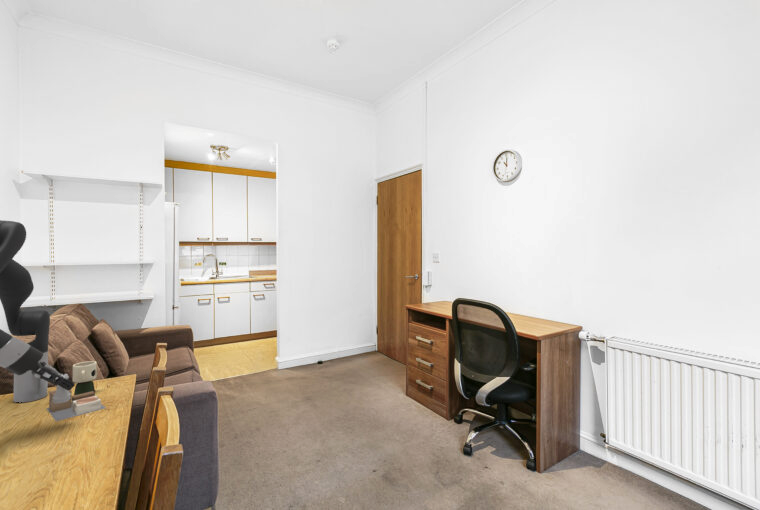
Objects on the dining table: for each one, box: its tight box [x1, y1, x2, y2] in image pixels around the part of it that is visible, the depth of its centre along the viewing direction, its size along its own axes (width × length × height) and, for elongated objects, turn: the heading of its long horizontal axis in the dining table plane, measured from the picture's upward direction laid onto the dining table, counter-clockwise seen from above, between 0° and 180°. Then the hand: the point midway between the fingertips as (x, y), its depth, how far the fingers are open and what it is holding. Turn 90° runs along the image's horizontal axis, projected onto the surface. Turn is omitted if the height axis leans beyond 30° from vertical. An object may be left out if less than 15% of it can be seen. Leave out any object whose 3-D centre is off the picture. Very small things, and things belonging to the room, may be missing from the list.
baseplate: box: [46, 401, 107, 422], centre depth 122 cm, size 16×13×1 cm
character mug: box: [72, 360, 98, 396], centre depth 135 cm, size 11×7×13 cm, turn 34°
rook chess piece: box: [52, 373, 72, 403], centre depth 109 cm, size 4×4×8 cm
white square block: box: [72, 395, 102, 416], centre depth 121 cm, size 6×6×3 cm
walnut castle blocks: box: [48, 389, 96, 412], centre depth 125 cm, size 5×12×6 cm, turn 141°
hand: (70, 386), depth 110 cm, fingers closed on rook chess piece, 3 cm apart
